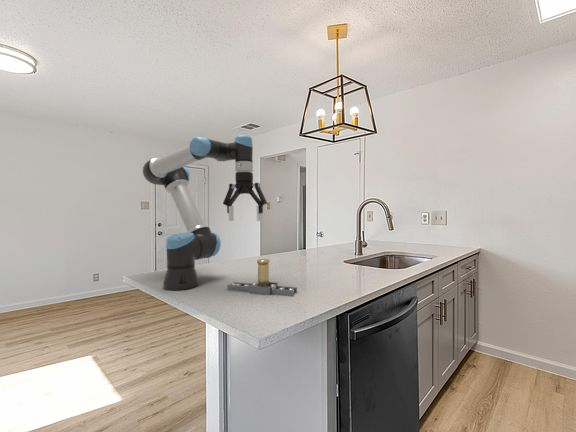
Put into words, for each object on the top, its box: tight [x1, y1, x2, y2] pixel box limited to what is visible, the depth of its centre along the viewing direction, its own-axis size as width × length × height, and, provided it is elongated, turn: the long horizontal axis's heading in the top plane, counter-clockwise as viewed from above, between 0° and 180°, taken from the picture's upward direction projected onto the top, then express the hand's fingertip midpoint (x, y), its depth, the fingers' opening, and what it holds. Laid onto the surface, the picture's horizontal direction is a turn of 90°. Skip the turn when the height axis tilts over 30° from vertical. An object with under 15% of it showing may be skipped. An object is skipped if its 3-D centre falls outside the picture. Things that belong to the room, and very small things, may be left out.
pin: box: [256, 258, 270, 287], centre depth 126 cm, size 5×5×13 cm
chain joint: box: [226, 280, 298, 297], centre depth 126 cm, size 29×8×3 cm, turn 70°
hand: (244, 221), depth 134 cm, fingers open, 13 cm apart
